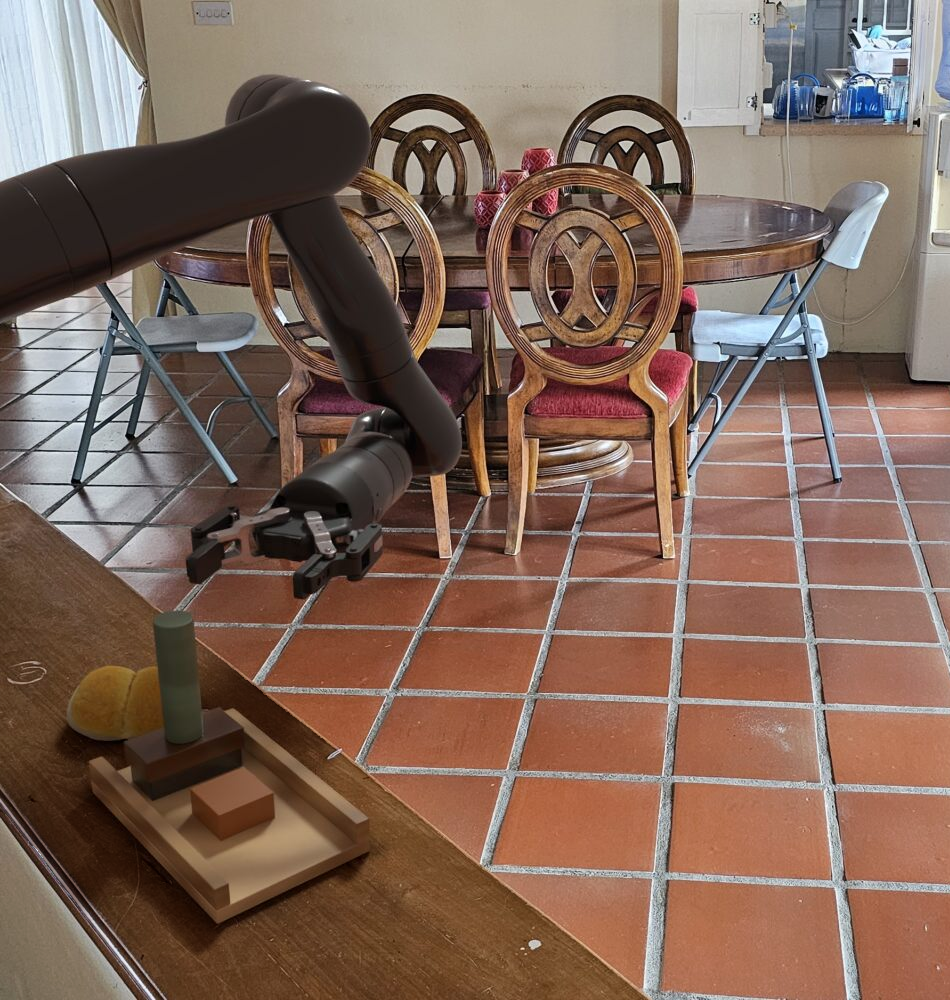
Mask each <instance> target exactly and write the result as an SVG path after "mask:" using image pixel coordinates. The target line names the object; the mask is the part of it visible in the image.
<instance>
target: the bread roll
mask: <svg viewBox="0 0 950 1000" xmlns="http://www.w3.org/2000/svg"><path fill="white" fill-rule="evenodd" d="M66 721H67V723H68V726H69V727H70V728H72V729H73V730H74V731H75V732H77V733H79V734H81V735H83V736H85V737H87V738H90V739H92V740H95V741H105V742H108V741H109V742H112V741H121V740H130V739H133V738H135V737H138V736H141V735H144V734H147V733H149V732H152V731H155V730H158V729H160V728H163V727H164V725H163V716H162V706H161V697H160V687H159V678H158V668H157V665H153V666H148V667H144V668H142V669H140V670H138V671H137V672H135V671H134V670H132V669H130V668H127V667H123V666H120V665H104V666H102V667H99V668H96V669H94V670H92V671H91V672H89V673H88V674H87V675H85V677H84V678H83V679H82V681H80V683H79V684H78V685H77V686H76V689H75V690H74V692H73V693H72V696H71V697H70V699H69V702H68V704H67V709H66Z"/></svg>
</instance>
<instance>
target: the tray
mask: <svg viewBox="0 0 950 1000" xmlns="http://www.w3.org/2000/svg"><path fill="white" fill-rule="evenodd" d="M224 711H225V712H226V713H227V714H228V715H229V716H231V717H232V718H233V719H234V720H235V721H237V722H238V723H239V724H240V725H242V726H243V727H244V737H245V746H244V747H242V748H241V751H242V763H243V765H242V766H239V767H237V768H234V769H232V770H229V771H227V772H224V773H222V774H219V775H217V776H214V777H212V778H209V779H207V780H204V781H202V782H199V783H197V784H194V785H192V786H189V787H187V788H184V789H182V790H179V791H177V792H174V793H172V794H169V795H167V796H164V797H162V798H159V799H157V800H154V801H152V800H151V799H150V798H149V797H148V796H147V795H146V794H145V793H144V792H143V791H142V790H141V789H140V788H139V787H138V786H137V785H136V784H135V783H134V782H133V781H132V774H131V766H130V765H129V766H127V767H123V768H121V769H118V770H116V768H115V767H113V765H112V764H110V762H108V760H107V759H105V757H104V756H98V757H96V758H93V759H90V760H89V761H88V767H89V774H90V776H89V777H90V780H91V782H90V783H91V789H92V793H93V794H94V795H95V796H96V797H97V799H98V800H99V801H100V802H101V803H102V804H103V805H104V806H105V807H106V808H107V809H108V810H109V811H110V812H111V813H112V814H113V815H114V816H115V817H116V818H117V820H118V821H120V823H121V824H122V825H123V826H124V828H126V829H127V830H128V831H129V832H130V834H132V835H133V836H134V837H135V839H137V841H138V842H139V843H140V844H141V846H143V847H144V848H145V849H146V850H147V852H149V853H150V855H151V856H153V858H154V859H155V860H156V861H157V862H158V863H159V864H160V865H161V866H162V867H163V868H164V869H165V870H166V871H167V873H169V874H170V876H172V878H173V879H174V880H175V881H176V882H178V884H179V885H180V886H181V887H182V889H183V890H185V891H186V893H187V894H188V895H189V896H190V897H191V898H192V899H193V900H194V901H195V902H196V903H197V904H198V905H199V906H200V907H201V908H202V909H203V911H205V912H206V914H207V915H208V916H209V917H210V918H211V919H212V920H213V921H214V922H215V923H216V924H221V923H223V922H225V921H227V920H229V919H231V918H233V917H235V916H237V915H240V914H242V913H244V912H246V911H248V910H250V909H252V908H255V907H256V906H258V905H261V904H263V903H265V902H266V901H268V900H271V899H273V898H275V897H277V896H279V895H281V894H283V893H286V892H287V891H289V890H292V889H294V888H295V887H298V886H300V885H302V884H304V883H306V882H308V881H310V880H313V879H315V878H316V877H319V876H321V875H323V874H325V873H327V872H329V871H331V870H334V869H336V868H337V867H339V866H341V865H344V864H346V863H348V862H351V861H352V860H354V859H356V858H358V857H360V856H362V855H364V854H367V853H369V852H370V851H371V844H370V843H371V841H370V838H371V836H370V835H371V833H370V818H369V817H368V816H367V815H365V814H364V813H363V812H362V811H360V810H359V809H358V808H357V807H355V806H354V805H353V804H352V803H350V801H348V800H347V799H346V798H345V797H343V796H342V795H341V794H339V793H338V792H337V791H336V790H334V788H333V787H331V786H330V785H329V784H328V783H326V782H325V781H323V779H322V778H320V777H319V776H318V775H316V774H315V773H314V772H313V771H311V770H310V769H309V768H308V767H307V766H305V764H303V763H302V762H300V761H299V760H298V759H296V758H295V757H294V756H293V755H292V754H290V753H289V752H288V751H287V750H286V749H285V748H283V747H282V746H280V744H279V743H277V742H276V741H274V740H273V739H272V738H271V737H269V736H268V735H267V734H266V733H265V732H264V731H262V730H261V729H260V728H259V727H258V726H256V725H255V724H254V723H253V722H251V721H250V720H249V719H248V718H247V717H245V716H244V715H242V713H240V712H239V711H238V710H236V709H235V708H234V707H233V708H232V707H231V708H230V709H227V710H224ZM242 767H245V768H246V769H247V770H248V771H249V772H250V773H251V774H253V775H254V776H255V777H256V778H257V779H258V780H260V781H261V782H262V783H263V784H264V785H265V786H266V787H268V788H269V789H270V790H271V791H272V792H273V793H274V807H275V818H272V819H270V820H268V821H265V822H263V823H261V824H259V825H256V826H254V827H252V828H249V829H247V830H245V831H243V832H240V833H238V834H236V835H233V836H231V837H229V838H226V839H224V840H222V841H221V840H220V839H218V838H217V837H216V836H215V835H214V834H213V833H212V832H211V831H210V830H209V829H208V828H207V827H206V826H205V825H204V824H203V823H202V822H201V821H200V820H199V819H198V818H197V817H196V816H195V815H194V814H193V813H192V806H191V796H190V788H192V787H195V786H197V785H200V784H202V783H205V782H207V781H210V780H212V779H215V778H217V777H220V776H222V775H225V774H227V773H230V772H232V771H235V770H237V769H240V768H242Z"/></svg>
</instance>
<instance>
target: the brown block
mask: <svg viewBox="0 0 950 1000" xmlns="http://www.w3.org/2000/svg"><path fill="white" fill-rule="evenodd" d="M190 796H191V806H192V813H193V814H194V815H195V816H196V817H197V818H198V819H199V820H200V821H201V822H202V823H203V824H204V825H205V826H206V827H207V828H208V829H209V830H210V831H211V832H212V833H213V834H214V835H215V836H216V837H217V838H218V839H220V840H221V841H222V840H224V839H226V838H229V837H231V836H233V835H236V834H238V833H240V832H243V831H245V830H247V829H249V828H252V827H254V826H256V825H259V824H261V823H263V822H265V821H268V820H270V819H272V818H275V807H274V793H273V792H272V791H271V790H270V789H269V788H268V787H266V786H265V785H264V784H263V783H262V782H261V781H260V780H258V779H257V778H256V777H255V776H254V775H253V774H251V773H250V772H249V771H248V770H247V769H246V768H245V767H242V768H240V769H237V770H235V771H232V772H230V773H227V774H225V775H222V776H220V777H217V778H215V779H212V780H210V781H207V782H205V783H202V784H200V785H197V786H195V787H192V788H190Z"/></svg>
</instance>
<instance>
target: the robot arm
mask: <svg viewBox="0 0 950 1000" xmlns="http://www.w3.org/2000/svg"><path fill="white" fill-rule="evenodd" d="M225 112H226V113H225V117H224V126H223V127H221V128H219V129H216V130H213V131H210V132H208V133H204V134H201V135H198V136H193V137H190V138H186V139H180V140H174V141H173V140H172V141H165V142H159V143H150V144H139V145H133V146H125V147H117V148H111V149H105V150H99V151H93V152H88V153H87V152H86V153H83V154H78V155H74V156H71V157H67V158H64V159H60V160H56V161H53V162H51V163H48V164H45V165H42V166H39V167H37V168H34V169H31V170H28V171H25V172H23V173H20V174H17V175H15V176H11V177H9V178H5V179H3V180H1V181H0V324H2V323H5V322H8V321H11V320H13V319H16V318H18V317H20V316H23V315H25V314H27V313H30V312H32V311H35V310H37V309H40V308H42V307H45V306H48V305H51V304H54V303H57V302H59V301H63V300H65V299H68V298H70V297H73V296H75V295H78V294H81V293H83V292H85V291H88V290H90V289H93V288H95V287H97V286H100V285H102V284H104V283H105V284H106V283H107V282H108V281H111V280H114V279H116V278H118V277H121V276H123V275H125V274H127V273H128V272H131V271H132V270H133V271H134V270H135V269H138V268H139V267H142V266H144V265H146V264H149V263H152V262H154V261H156V260H159V259H161V258H163V257H165V256H168V255H170V254H173V253H175V252H177V251H180V250H182V249H184V248H187V247H188V246H191V245H194V244H195V243H198V242H200V241H201V240H204V239H205V238H208V237H210V236H212V235H215V234H217V233H219V232H221V231H224V230H226V229H229V228H232V227H234V226H237V225H240V224H242V223H243V224H244V223H246V222H249V221H252V220H255V219H258V218H261V217H265V216H267V217H268V218H269V220H270V222H271V224H272V226H273V228H274V229H275V232H276V233H277V235H278V237H279V238H280V240H281V242H282V244H283V246H284V248H285V250H286V252H287V254H288V256H289V257H290V259H291V262H292V264H293V265H294V267H295V270H296V271H297V273H298V275H299V278H300V280H301V282H302V284H303V286H304V288H305V290H306V293H307V294H308V297H309V300H310V301H311V303H312V306H313V308H314V310H315V313H316V315H317V318H318V320H319V322H320V325H321V327H322V330H323V332H324V335H325V338H326V341H327V343H328V346H329V349H330V351H331V353H332V355H333V358H334V361H335V363H336V366H337V368H338V371H339V374H340V376H341V379H342V381H343V384H344V386H345V388H346V391H347V392H348V393H349V395H350V396H351V397H352V398H353V399H355V400H356V401H358V402H360V403H363V404H366V405H367V404H368V405H373V406H379V407H375V408H372V409H368V410H366V411H364V412H362V413H360V414H359V415H357V416H356V417H355V419H354V420H353V422H352V424H351V425H350V430H349V432H348V434H347V437H346V439H345V441H344V443H343V444H341V445H340V446H339V447H338V448H336V449H335V450H334V451H332V452H329V453H328V454H326V455H324V456H322V457H320V458H319V459H317V460H316V461H315V462H313V463H312V464H310V466H308V467H306V469H304V470H303V471H301V472H300V473H299V474H298V475H296V476H295V477H294V478H292V479H290V481H288V482H287V483H285V484H284V485H283V486H282V488H280V490H279V491H278V492H277V494H276V496H275V498H274V499H273V501H272V503H271V505H270V507H269V508H268V509H266V510H263V511H259V512H257V513H255V514H254V515H253V516H248V515H243V514H242V515H241V514H240V506H239V505H236V504H229V505H225V506H224V507H222V508H220V509H218V511H216V512H214V513H213V514H211V515H210V516H208V517H207V518H204V519H203V520H202V521H200V522H199V523H197V524H196V525H194V526H193V527H191V528H190V538H191V539H190V540H191V549H192V552H191V553H189V554H188V555H187V556H186V557H185V568H186V577H188V582H189V583H190V584H193V585H202V584H203V583H204V582H205V581H207V580H208V579H209V578H210V577H212V576H213V575H214V574H215V573H217V572H218V571H219V570H220V569H221V568H223V566H227V565H229V564H234V563H238V562H240V563H242V564H243V565H244V566H245V565H246V566H248V565H253V564H256V563H259V562H260V563H261V562H265V561H268V560H271V559H274V560H275V559H276V560H287V561H290V562H295V563H302V562H303V563H302V564H301V565H300V566H299V567H298V568H297V569H296V570H294V572H293V575H292V590H293V598H294V599H297V600H305V601H306V599H307V598H308V597H309V596H310V595H314V594H316V593H319V591H321V589H323V588H324V586H325V585H326V584H327V583H334V582H336V581H337V580H338V577H346V580H347V581H348V582H352V583H353V582H354V583H356V582H361V581H362V580H363V579H364V578H365V577H366V575H367V574H368V572H370V570H372V568H373V567H374V566H375V564H376V563H377V562H378V560H379V559H380V558H381V557H382V556H383V553H384V551H383V525H382V524H380V523H379V522H380V521H381V519H382V518H383V517H384V515H385V513H386V512H387V511H388V510H389V509H390V508H391V507H392V506H393V505H394V504H395V503H397V501H399V499H400V498H401V497H402V496H403V495H404V493H406V491H407V489H408V488H409V486H410V484H411V481H412V479H413V478H425V477H427V478H428V477H437V476H442V475H445V474H448V473H449V472H451V470H452V469H454V467H455V466H456V465H457V464H458V462H459V460H460V457H461V454H462V448H463V438H462V432H461V429H460V425H459V422H458V420H457V418H456V415H455V413H454V412H453V410H452V408H451V407H450V406H449V404H448V402H447V401H446V400H445V399H444V397H443V395H441V393H440V391H439V390H438V389H437V388H436V386H435V384H434V383H433V381H432V380H430V378H429V377H428V374H427V373H426V372H425V370H424V369H423V368H422V367H421V365H420V364H419V362H418V360H417V358H416V356H415V355H416V354H415V352H414V349H413V347H412V344H411V340H410V338H409V335H408V332H407V329H406V327H405V324H404V321H403V318H402V315H401V313H400V311H399V308H398V306H397V303H396V301H395V300H394V297H393V295H392V293H391V291H390V290H389V288H388V287H387V284H386V282H385V281H384V280H383V278H382V277H381V275H380V273H379V272H378V271H377V269H376V268H375V266H374V264H373V263H372V261H371V260H370V258H369V256H368V255H367V253H366V252H365V251H364V249H363V247H362V246H361V244H360V243H359V241H358V239H357V238H356V236H355V235H354V233H353V232H352V229H351V228H350V226H349V224H348V222H347V220H346V217H345V216H344V214H343V212H342V210H341V207H340V205H339V203H338V200H337V198H336V194H338V193H340V192H341V191H343V190H344V189H346V188H347V187H348V186H349V185H350V184H351V185H352V183H353V182H354V181H355V180H356V179H357V178H358V176H359V175H360V173H361V172H362V171H363V169H364V167H365V165H366V163H367V161H368V158H369V155H370V152H371V146H372V130H371V126H370V124H369V120H368V118H367V116H366V114H365V112H364V111H363V109H362V108H361V107H360V105H358V103H356V101H354V100H353V99H352V98H351V97H349V96H348V95H347V94H346V93H344V92H342V91H341V90H339V89H337V88H335V87H332V86H330V85H328V84H326V83H322V82H319V81H318V82H317V81H312V80H309V79H304V78H299V77H296V76H290V75H285V74H276V73H271V74H270V73H269V74H261V75H257V76H254V77H252V78H250V79H247V80H246V81H245V82H243V84H241V85H240V86H239V87H238V88H237V89H236V90H235V92H234V94H232V96H231V98H230V100H229V102H228V105H227V108H226V110H225ZM251 533H252V537H253V540H254V542H255V545H256V549H253V550H251V542H250V541H251V540H250V535H251ZM232 542H234V548H233V549H232V550H229V551H225V547H226V546H227V545H229V544H231V543H232Z"/></svg>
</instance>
